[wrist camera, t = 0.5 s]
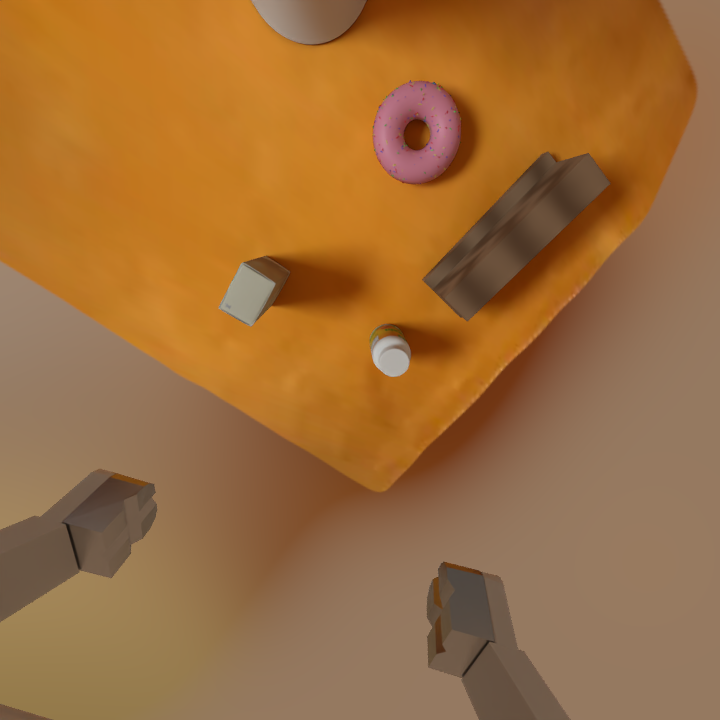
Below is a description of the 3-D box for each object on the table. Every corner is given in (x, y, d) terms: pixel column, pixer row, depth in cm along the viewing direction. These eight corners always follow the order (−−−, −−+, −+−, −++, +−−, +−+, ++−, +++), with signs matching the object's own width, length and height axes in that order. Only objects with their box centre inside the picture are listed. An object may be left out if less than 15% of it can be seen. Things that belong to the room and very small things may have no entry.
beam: (458, 315, 54) (476, 329, 46) (422, 279, 52) (435, 289, 44) (576, 199, 48) (618, 194, 41) (542, 153, 46) (579, 140, 39)
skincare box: (271, 307, 52) (250, 330, 41) (244, 291, 51) (216, 310, 40) (292, 269, 50) (277, 283, 39) (265, 252, 50) (241, 261, 38)
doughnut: (456, 181, 47) (465, 178, 43) (374, 189, 47) (377, 186, 43) (456, 83, 43) (467, 69, 39) (368, 92, 43) (370, 79, 39)
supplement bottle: (409, 330, 54) (422, 352, 45) (395, 360, 56) (404, 387, 47) (377, 318, 54) (384, 337, 44) (364, 349, 55) (367, 373, 46)
